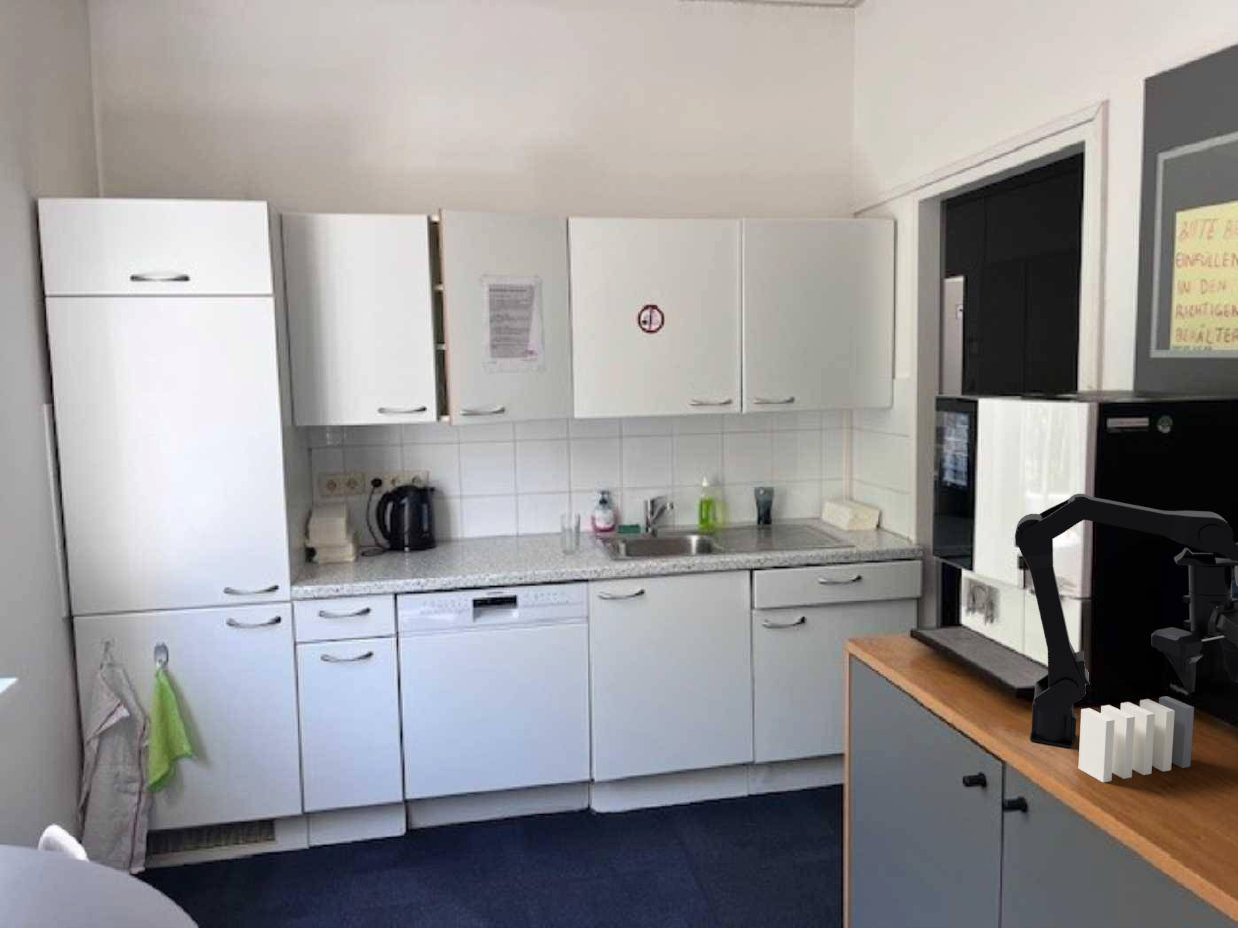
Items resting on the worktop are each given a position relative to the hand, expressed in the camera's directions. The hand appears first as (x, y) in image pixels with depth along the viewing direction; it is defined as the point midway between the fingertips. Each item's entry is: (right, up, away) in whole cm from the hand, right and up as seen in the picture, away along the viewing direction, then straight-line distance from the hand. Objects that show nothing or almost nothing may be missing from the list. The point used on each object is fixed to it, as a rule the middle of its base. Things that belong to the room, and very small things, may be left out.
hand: (1212, 686), depth 142 cm
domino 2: (-16, -14, -1) cm, 21 cm away
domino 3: (-12, -13, 0) cm, 18 cm away
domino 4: (-9, -13, +1) cm, 16 cm away
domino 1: (-20, -14, -2) cm, 24 cm away
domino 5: (-5, -13, +3) cm, 14 cm away
